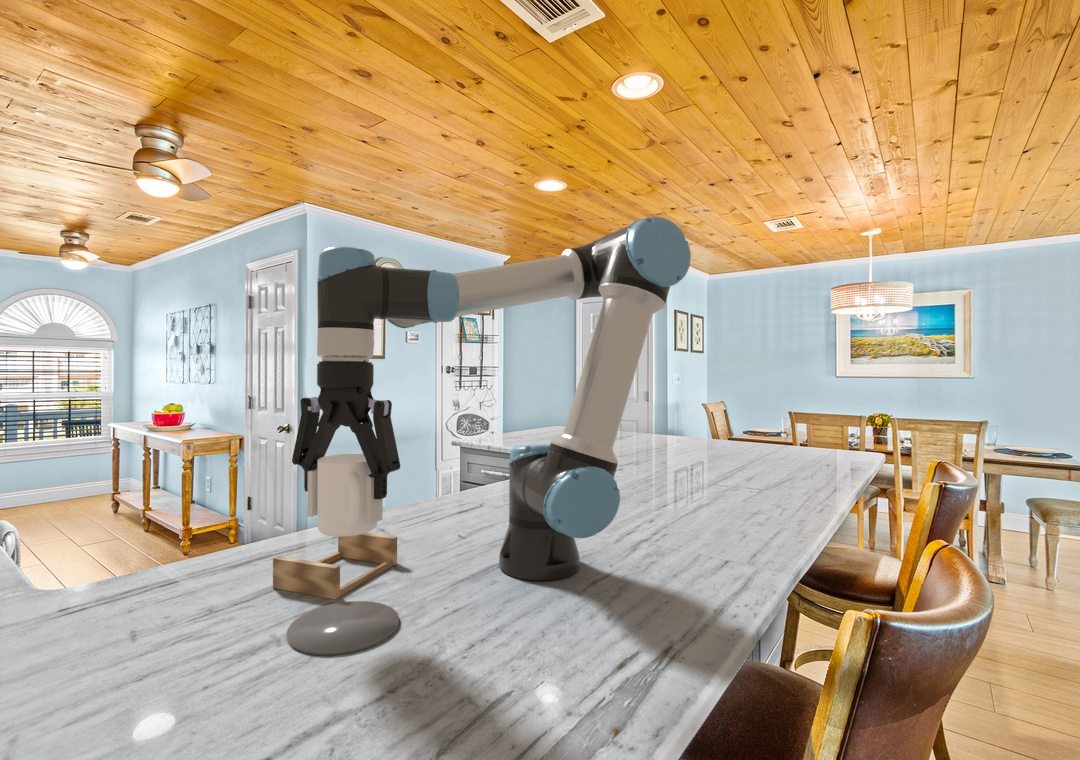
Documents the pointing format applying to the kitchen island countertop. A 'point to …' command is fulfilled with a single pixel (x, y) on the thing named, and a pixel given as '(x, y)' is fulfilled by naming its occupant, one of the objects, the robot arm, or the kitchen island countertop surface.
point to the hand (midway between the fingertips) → (344, 517)
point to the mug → (342, 495)
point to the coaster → (342, 628)
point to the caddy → (335, 566)
